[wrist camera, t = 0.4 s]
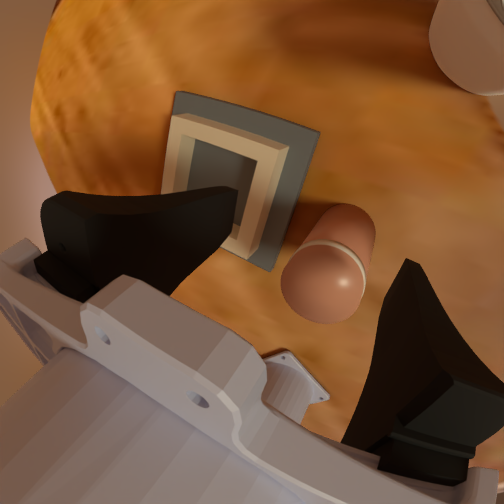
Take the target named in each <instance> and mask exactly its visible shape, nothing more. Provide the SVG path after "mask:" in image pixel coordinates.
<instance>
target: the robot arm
mask: <svg viewBox="0 0 504 504" xmlns="http://www.w3.org/2000/svg"><path fill="white" fill-rule="evenodd" d="M238 191H239V190H236V189H233V188H231V187H228V186H214V187H207V188H200V189H194V190H188V191H182V192H175V193H168V194H160V195H147V196H104V195H93V194H85V193H78V192H71V191H62V192H60V193H58V194H56V195H54V196H52V197H50V198H48V199H46V200H45V201H44V202H43V204H42V207H41V216H40V217H41V223H42V228H43V232H44V237H45V241H46V245H47V249H48V251H46V252H44V253H43V254H42V253H41V251H40V250H39V248H38V247H37V246H35V245H34V244H33V243H32V242H31V241H30V240H29V239H27V238H25V239H23V240H21V241H20V242H18V243H16V244H15V245H13V246H12V247H10V248H8V249H7V250H5V251H4V252H2V253H1V254H0V310H1V312H2V314H3V315H4V316H5V318H6V319H7V320H8V322H9V323H10V324H11V326H12V327H13V328H14V329H15V331H16V332H17V333H18V335H19V336H20V337H21V339H22V340H23V341H24V342H25V344H26V345H27V346H28V348H29V349H30V350H31V351H32V353H33V354H34V355H35V356H36V358H37V359H38V360H39V361H40V362H41V363H42V365H43V366H44V367H43V368H41V369H40V370H39V371H38V372H37V373H36V374H35V375H34V376H33V377H32V378H30V379H29V380H28V381H27V382H26V383H25V384H24V385H23V386H22V387H21V388H20V389H19V390H18V391H17V392H16V393H14V395H12V396H11V397H10V398H9V399H8V400H7V401H6V402H5V403H4V404H3V405H2V406H1V407H0V504H495V503H496V496H497V487H498V477H499V471H498V470H495V469H489V468H483V467H471V468H468V465H469V459H472V458H474V456H475V451H476V446H477V445H479V444H480V443H482V442H483V441H485V440H486V439H488V438H489V437H491V436H492V435H494V434H495V433H496V432H497V431H499V430H500V429H501V428H502V427H503V426H504V383H503V382H502V381H501V380H500V379H499V378H498V377H497V376H496V375H494V374H493V373H492V372H491V371H490V370H489V369H488V367H487V366H486V365H485V364H484V363H483V362H482V361H481V360H480V359H479V358H478V356H477V355H476V354H475V353H474V352H473V350H472V349H471V348H470V347H469V345H468V344H467V343H466V342H465V340H464V339H463V338H462V336H461V335H460V333H459V332H458V330H457V329H456V327H455V326H454V324H453V323H452V322H451V320H450V318H449V317H448V315H447V313H446V312H445V310H444V308H443V306H442V305H441V303H440V301H439V299H438V297H437V295H436V294H435V292H434V290H433V288H432V286H431V284H430V282H429V280H428V278H427V276H426V274H425V272H424V270H423V269H422V267H421V266H420V264H418V263H416V262H414V261H412V260H409V259H407V258H406V259H405V261H404V263H403V265H402V266H401V268H400V270H399V272H398V274H397V276H396V278H395V279H394V281H393V283H392V285H391V287H390V289H389V290H388V292H387V294H386V296H385V297H384V301H383V305H382V308H381V312H380V315H379V320H378V326H377V332H376V339H375V345H374V350H373V356H372V361H371V366H370V370H369V373H368V376H367V379H366V382H365V385H364V388H363V391H362V394H361V396H360V399H359V402H358V404H357V407H356V409H355V412H354V414H353V417H352V419H351V421H350V423H349V426H348V428H347V430H346V432H345V434H344V437H343V439H342V441H341V443H339V442H337V441H334V440H331V439H329V438H326V437H323V436H321V435H318V434H316V433H313V432H311V431H309V430H308V429H306V428H304V427H303V426H301V425H300V423H301V421H302V419H303V417H304V414H305V412H306V410H307V408H308V405H309V404H313V403H317V402H321V401H326V400H328V399H329V398H330V395H329V394H328V393H327V392H326V391H325V390H324V388H323V387H322V386H321V385H320V384H319V383H318V382H317V381H316V380H315V379H314V378H313V376H312V375H311V374H310V373H309V372H308V371H307V370H306V369H305V368H304V367H303V365H302V364H301V363H300V362H299V361H298V360H297V359H296V358H295V357H294V355H293V354H292V353H291V352H289V351H283V352H281V353H278V354H275V355H272V356H270V357H267V358H264V359H262V358H261V357H260V355H259V354H258V352H257V351H256V350H255V348H254V347H253V345H252V344H251V343H249V342H248V341H247V340H245V339H244V338H242V337H241V336H240V335H238V334H237V333H235V332H234V331H233V330H231V329H229V328H227V327H225V326H223V325H222V324H220V323H218V322H216V321H214V320H212V319H210V318H208V317H206V316H204V315H203V314H201V313H199V312H197V311H195V310H193V309H191V308H190V307H188V306H186V305H184V304H182V303H180V302H179V301H177V300H175V299H173V298H171V297H170V295H171V294H172V293H173V291H174V290H175V289H176V288H177V287H178V286H179V284H180V283H181V282H182V281H183V280H184V279H185V278H186V277H187V276H188V275H190V274H191V273H192V272H193V271H194V270H195V269H196V268H197V267H198V266H200V265H201V264H202V263H203V262H204V261H205V260H206V259H207V258H208V257H210V256H211V255H212V254H213V253H214V252H215V251H216V250H217V249H218V248H219V247H220V246H221V245H222V244H223V242H224V241H225V240H226V239H227V237H228V236H229V235H230V234H231V232H232V228H233V221H234V215H235V209H236V203H237V197H238ZM283 356H284V357H283Z"/></svg>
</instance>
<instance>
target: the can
mask: <svg viewBox="0 0 504 504" xmlns="http://www.w3.org/2000/svg"><path fill="white" fill-rule="evenodd" d="M429 43H430V48H431V51H432V54H433V56H434V58H435V61H436V63H437V64H438V66H439V67H440V69H441V70H442V71H443V72H444V74H445V75H446V76H447V77H448V78H449V79H451V80H452V81H453V82H454V83H456V84H457V85H458V86H460V87H461V88H463V89H465V90H467V91H469V92H471V93H474V94H478V95H503V94H504V0H439V1H438V4H437V7H436V9H435V12H434V15H433V18H432V21H431V24H430V28H429Z"/></svg>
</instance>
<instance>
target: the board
mask: <svg viewBox="0 0 504 504" xmlns="http://www.w3.org/2000/svg"><path fill="white" fill-rule="evenodd" d="M319 135H320V132H319V131H316V130H313V129H311V128H308V127H305V126H302V125H300V124H297V123H294V122H291V121H288V120H285V119H282V118H279V117H276V116H273V115H270V114H267V113H264V112H261V111H257V110H254V109H251V108H247V107H244V106H240V105H237V104H233V103H230V102H226V101H222V100H218V99H214V98H211V97H207V96H202V95H198V94H194V93H190V92H185V91H176V95H175V101H174V106H173V112H172V118H171V124H170V130H169V136H168V143H167V149H166V157H165V164H164V172H163V180H162V188H161V194H168V193H175V192H182V191H188V190H194V189H200V188H207V187H214V186H228V187H231V188H233V189H236V190H239V191H238V197H237V203H236V209H235V215H234V221H233V228H232V232H231V234H230V235H229V236H228V237H227V239H226V240H225V241H224V242H223V244H222V245H221V246H220V247H221V248H223V249H225V250H227V251H229V252H231V253H232V254H234V255H236V256H238V257H240V258H242V259H244V260H246V261H248V262H250V263H252V264H254V265H256V266H258V267H260V268H262V269H264V270H266V271H268V272H271V271H272V269H273V268H274V265H275V263H276V260H277V257H278V254H279V252H280V249H281V246H282V243H283V240H284V238H285V235H286V232H287V229H288V226H289V223H290V221H291V218H292V215H293V212H294V209H295V206H296V203H297V200H298V198H299V195H300V192H301V189H302V186H303V183H304V180H305V177H306V174H307V171H308V168H309V165H310V162H311V159H312V156H313V153H314V150H315V147H316V144H317V141H318V138H319Z"/></svg>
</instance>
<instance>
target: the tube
mask: <svg viewBox="0 0 504 504" xmlns="http://www.w3.org/2000/svg"><path fill="white" fill-rule="evenodd" d="M374 241H375V226H374V223H373V221H372V219H371V218H370V216H369V215H368V214H367V213H366V212H365V211H364V210H362V209H361V208H359V207H357V206H355V205H351V204H338V205H335V206H333V207H331V208H329V209H328V210H327V211H325V213H324V214H323V215H322V217H321V218H320V219H319V221H318V222H317V224H316V225H315V226H314V228H313V229H312V231H311V232H310V233H309V235H308V236H307V238H306V239H305V240H304V242H303V243H302V244H301V246H300V247H299V248H298V249H297V250H296V251H295V253H294V254H293V255H292V257H291V258H290V260H289V262H288V264H287V265H286V267H285V268H284V270H283V272H282V276H281V290H282V293H283V296H284V298H285V300H286V302H287V303H288V304H289V306H290V307H291V308H292V309H293V310H294V311H295V312H296V313H297V314H299V315H300V316H302V317H304V318H305V319H308V320H310V321H313V322H316V323H322V324H332V323H337V322H341V321H343V320H345V319H347V318H348V317H350V316H351V315H352V314H353V313H354V312H355V311H356V309H357V308H358V306H359V304H360V301H361V297H362V296H363V292H364V289H365V285H366V277H367V273H368V269H369V264H370V260H371V255H372V251H373V246H374Z"/></svg>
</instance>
